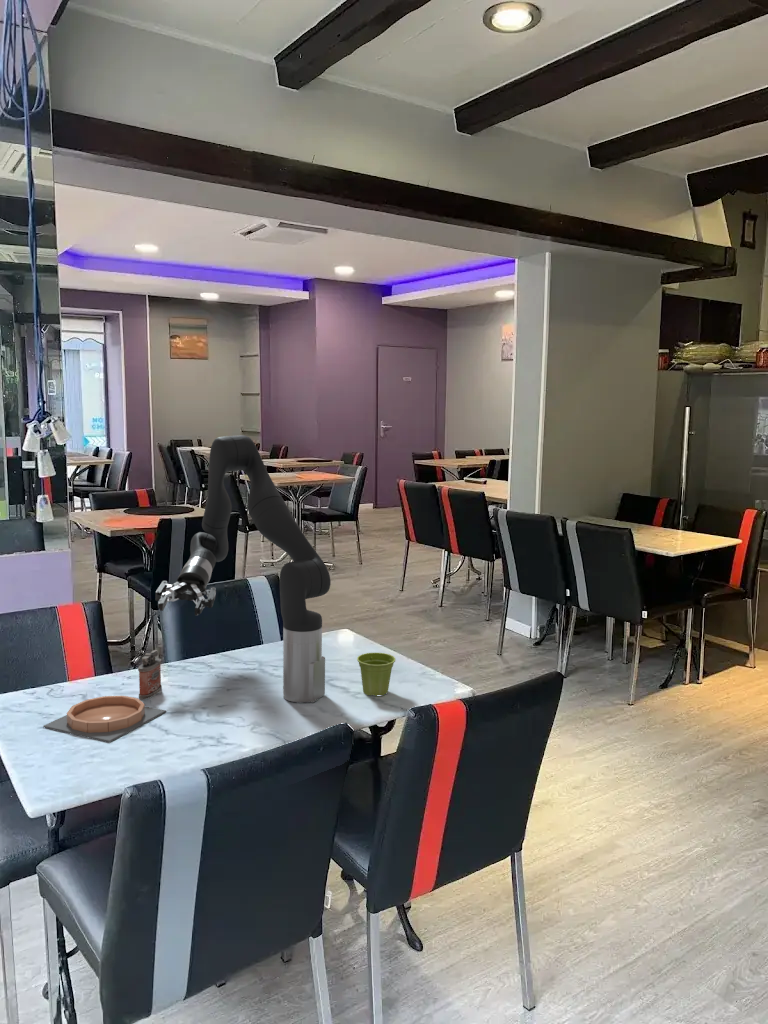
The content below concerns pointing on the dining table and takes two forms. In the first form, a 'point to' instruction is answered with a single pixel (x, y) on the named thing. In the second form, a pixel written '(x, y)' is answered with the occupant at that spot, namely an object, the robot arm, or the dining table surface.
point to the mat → (105, 736)
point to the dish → (105, 714)
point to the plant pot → (375, 672)
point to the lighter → (150, 675)
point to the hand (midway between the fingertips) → (178, 610)
